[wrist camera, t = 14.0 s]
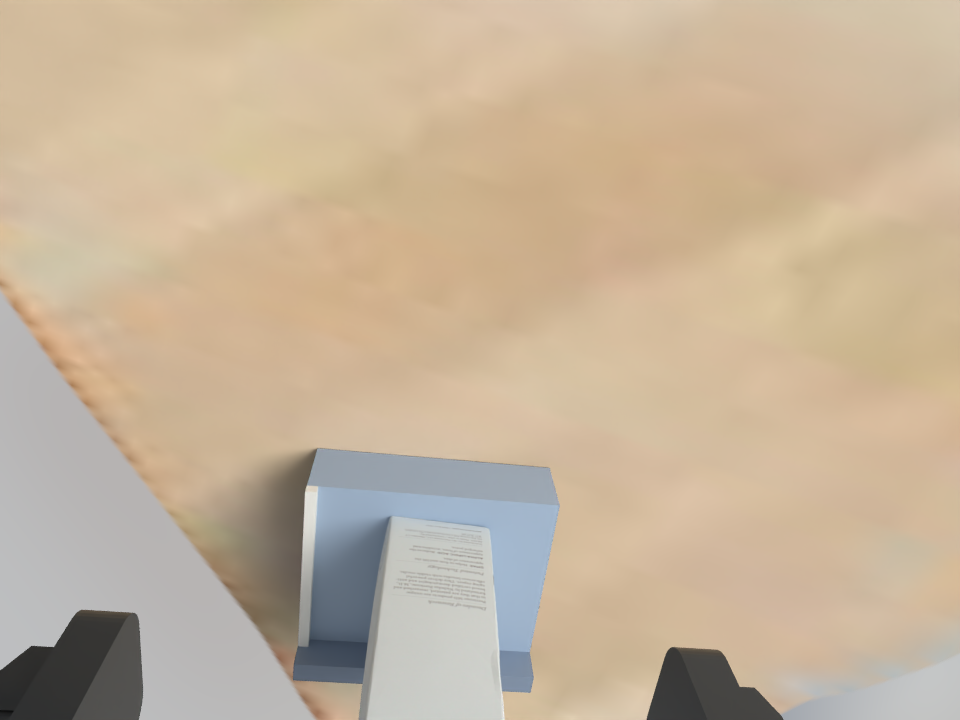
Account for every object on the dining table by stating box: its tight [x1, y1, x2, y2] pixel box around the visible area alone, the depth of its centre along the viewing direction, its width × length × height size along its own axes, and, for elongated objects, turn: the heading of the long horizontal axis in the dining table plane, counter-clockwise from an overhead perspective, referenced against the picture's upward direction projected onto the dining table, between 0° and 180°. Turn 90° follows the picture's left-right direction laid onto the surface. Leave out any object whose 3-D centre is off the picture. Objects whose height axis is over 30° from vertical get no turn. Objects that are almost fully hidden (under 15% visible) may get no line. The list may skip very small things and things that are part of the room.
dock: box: [293, 448, 560, 693], centre depth 44 cm, size 14×12×6 cm
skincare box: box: [359, 516, 505, 720], centre depth 36 cm, size 8×6×15 cm
